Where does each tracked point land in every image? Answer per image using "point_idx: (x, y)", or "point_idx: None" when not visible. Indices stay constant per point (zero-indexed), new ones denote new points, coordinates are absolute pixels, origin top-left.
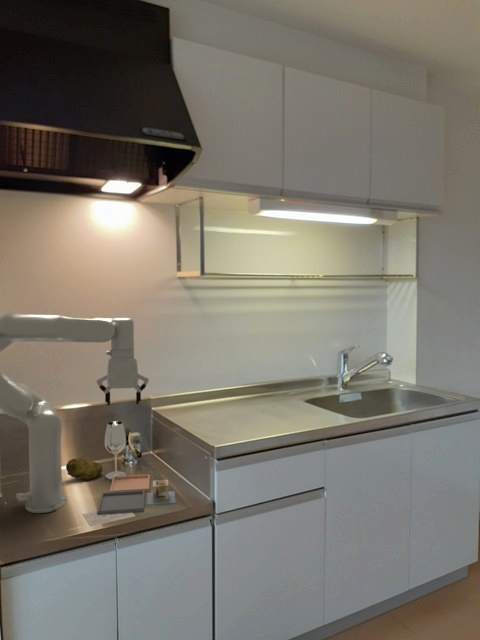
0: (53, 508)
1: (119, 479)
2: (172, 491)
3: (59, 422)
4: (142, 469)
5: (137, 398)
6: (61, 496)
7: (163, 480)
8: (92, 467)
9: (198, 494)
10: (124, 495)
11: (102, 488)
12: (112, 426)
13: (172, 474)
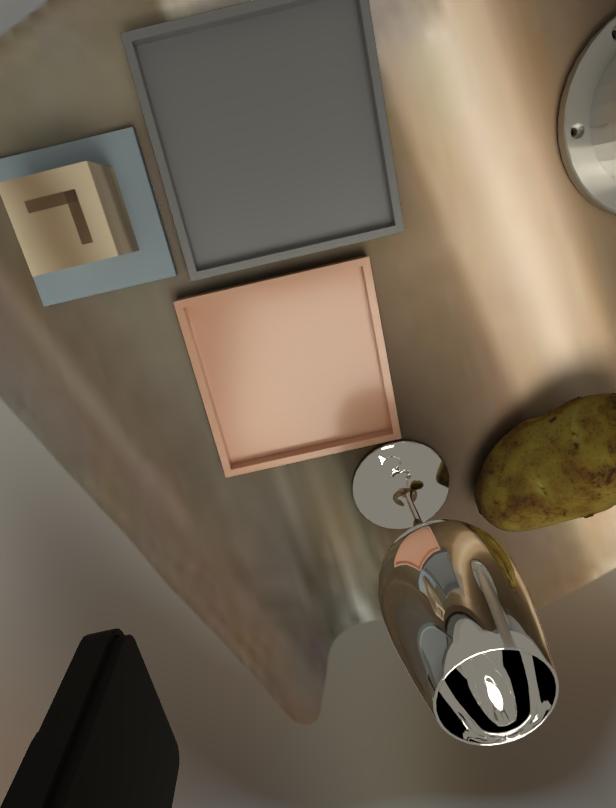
0: (609, 22)
1: (367, 432)
2: (53, 303)
3: None
4: (294, 567)
5: (58, 727)
6: (602, 119)
7: (55, 262)
8: (525, 463)
9: None
10: (287, 240)
11: (425, 336)
12: (501, 637)
13: (132, 523)
